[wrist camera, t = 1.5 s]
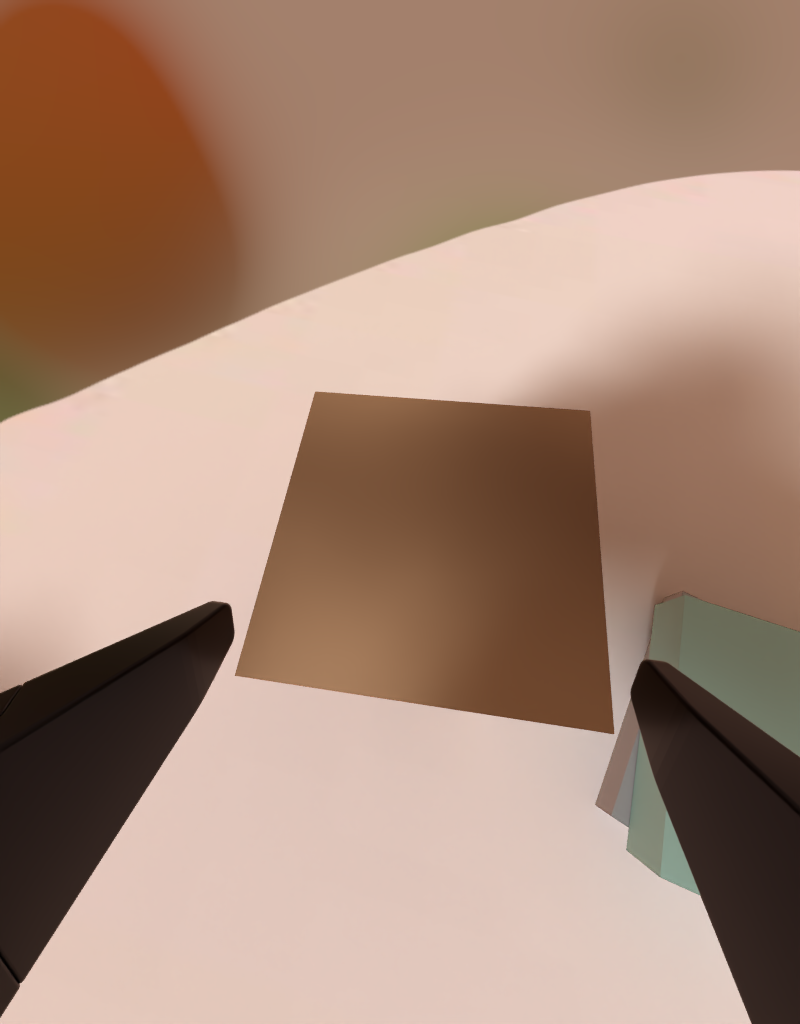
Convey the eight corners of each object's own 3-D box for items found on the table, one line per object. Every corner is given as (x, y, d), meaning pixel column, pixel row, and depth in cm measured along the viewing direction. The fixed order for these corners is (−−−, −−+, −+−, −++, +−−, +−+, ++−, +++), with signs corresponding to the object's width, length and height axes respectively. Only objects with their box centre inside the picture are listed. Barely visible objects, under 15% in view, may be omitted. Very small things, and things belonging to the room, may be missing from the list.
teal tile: (934, 988, 11) (1033, 1046, 9) (626, 849, 13) (660, 877, 11) (898, 685, 14) (968, 686, 13) (654, 605, 16) (685, 594, 14)
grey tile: (853, 972, 13) (924, 1020, 11) (588, 800, 15) (611, 815, 13) (882, 712, 16) (942, 715, 14) (656, 600, 18) (682, 591, 16)
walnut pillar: (480, 698, 16) (614, 733, 5) (363, 681, 17) (235, 675, 5) (485, 582, 18) (589, 410, 7) (381, 569, 19) (315, 391, 7)
